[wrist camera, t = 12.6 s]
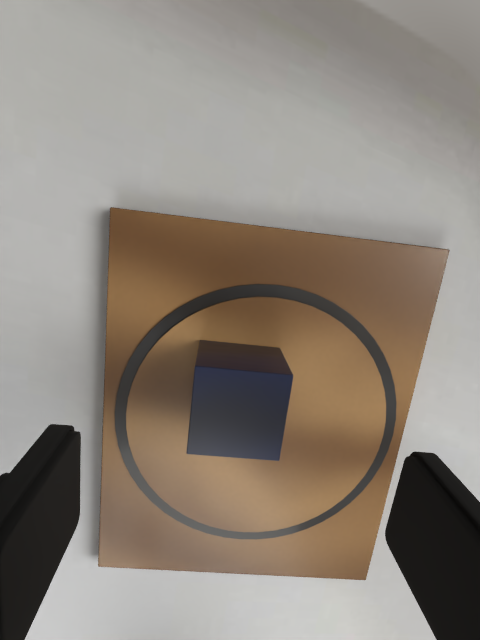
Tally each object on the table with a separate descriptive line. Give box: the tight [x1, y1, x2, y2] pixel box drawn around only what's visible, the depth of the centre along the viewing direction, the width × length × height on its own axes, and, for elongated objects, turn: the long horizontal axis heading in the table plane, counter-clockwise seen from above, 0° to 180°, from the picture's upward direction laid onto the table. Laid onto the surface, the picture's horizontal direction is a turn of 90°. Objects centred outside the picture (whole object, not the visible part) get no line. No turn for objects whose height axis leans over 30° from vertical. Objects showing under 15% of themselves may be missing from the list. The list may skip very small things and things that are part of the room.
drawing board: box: [98, 207, 449, 580], centre depth 20 cm, size 20×16×1 cm
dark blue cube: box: [186, 340, 293, 461], centre depth 17 cm, size 4×4×4 cm
